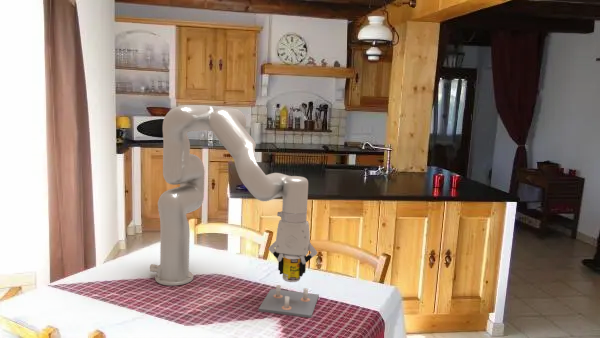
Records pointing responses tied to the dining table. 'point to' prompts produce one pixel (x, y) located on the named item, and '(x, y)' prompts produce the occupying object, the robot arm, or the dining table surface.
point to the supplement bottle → (291, 268)
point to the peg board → (289, 302)
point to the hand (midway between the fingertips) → (291, 273)
